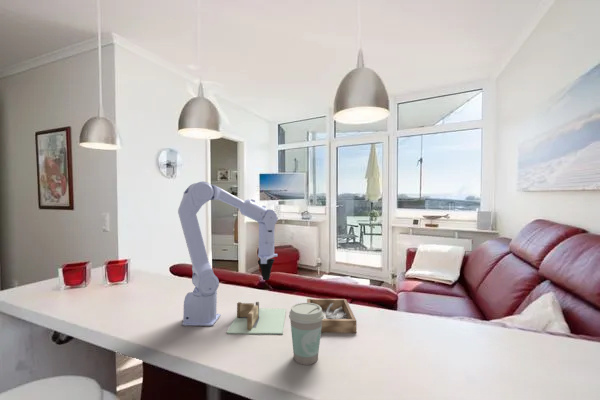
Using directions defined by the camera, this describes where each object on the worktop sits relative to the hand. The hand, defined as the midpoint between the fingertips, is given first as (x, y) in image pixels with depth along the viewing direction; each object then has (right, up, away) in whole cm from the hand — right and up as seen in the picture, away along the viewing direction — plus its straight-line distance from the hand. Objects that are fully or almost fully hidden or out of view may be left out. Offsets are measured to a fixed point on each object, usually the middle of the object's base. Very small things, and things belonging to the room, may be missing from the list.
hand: (266, 279), depth 97 cm
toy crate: (+22, -10, -10) cm, 26 cm away
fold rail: (-2, -9, -15) cm, 18 cm away
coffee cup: (+14, -10, -32) cm, 36 cm away
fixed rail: (-5, -9, -10) cm, 14 cm away
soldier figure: (+24, -10, -13) cm, 29 cm away
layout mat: (-1, -10, -12) cm, 15 cm away
